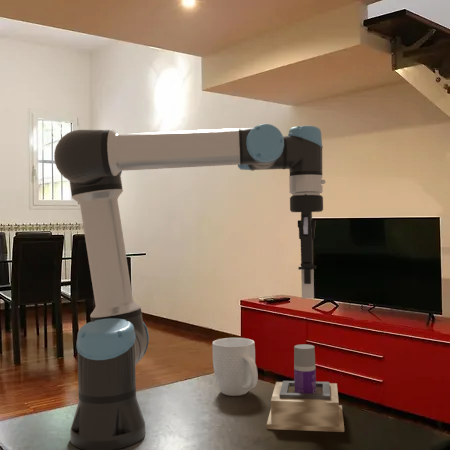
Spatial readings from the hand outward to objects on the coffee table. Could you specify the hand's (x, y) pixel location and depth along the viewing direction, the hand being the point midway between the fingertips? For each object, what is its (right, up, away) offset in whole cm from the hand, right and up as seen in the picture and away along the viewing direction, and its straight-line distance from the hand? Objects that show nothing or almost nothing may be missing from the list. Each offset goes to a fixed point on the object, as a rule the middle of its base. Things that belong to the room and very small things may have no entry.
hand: (307, 297), depth 127 cm
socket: (-1, -26, -4) cm, 27 cm away
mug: (-16, -27, +15) cm, 35 cm away
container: (-1, -25, -5) cm, 26 cm away
